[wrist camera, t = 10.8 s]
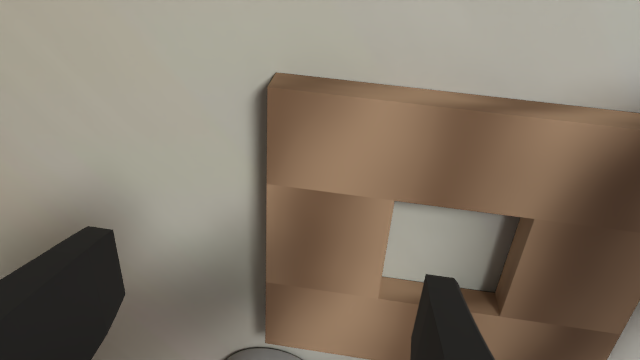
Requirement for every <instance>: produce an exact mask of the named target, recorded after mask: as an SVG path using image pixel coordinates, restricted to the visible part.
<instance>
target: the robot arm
mask: <svg viewBox="0 0 640 360" xmlns="http://www.w3.org/2000/svg"><path fill="white" fill-rule="evenodd" d="M124 296H125V289H124V284H123V279H122V274H121V269H120V264H119V259H118V254H117V248H116V243H115V238H114V233H113V230H111V229H103V228H96V227H89V226H88V227H86V228H84V229H82V230H81V231H79V232H77V233H75V234H74V235H72V236H70V237H69V238H67V239H66V240H64V241H62V242H61V243H59V244H57V245H56V246H54V247H53V248H51V249H50V250H48V251H46V252H45V253H43V254H42V255H40V256H38V257H37V258H35V259H34V260H32V261H30V262H29V263H27V264H25V265H24V266H22V267H20V268H19V269H17V270H16V271H14V272H12V273H11V274H9V275H7V276H6V277H4V278H3V279H1V280H0V360H91V359H92V357H93V356H94V354H95V353H96V351H97V349H98V348H99V346H100V345H101V343H102V341H103V340H104V338H105V336H106V335H107V333H108V331H109V329H110V327H111V325H112V323H113V320H114V318H115V316H116V314H117V312H118V310H119V307H120V305H121V303H122V301H123V298H124ZM410 360H495V359H494V357H493V355H492V353H491V351H490V350H489V348H488V346H487V344H486V342H485V340H484V338H483V337H482V335H481V333H480V331H479V329H478V327H477V325H476V323H475V321H474V318H473V316H472V314H471V312H470V310H469V308H468V306H467V303H466V301H465V299H464V297H463V294H462V292H461V290H460V287H459V285H458V283H457V281H456V280H455V279H454V278H449V277H442V276H435V275H428V274H426V276H425V280H424V285H423V289H422V293H421V298H420V302H419V306H418V310H417V315H416V319H415V323H414V328H413V332H412V336H411V355H410Z"/></svg>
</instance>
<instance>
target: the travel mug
mask: <svg viewBox="0 0 640 360" xmlns="http://www.w3.org/2000/svg"><path fill="white" fill-rule="evenodd" d="M227 360H302V359H300V358H298V357H296V356H294V355H292V354H290V353H286V352H283V351H280V350H275V349H269V348H253V349H246V350H243V351H239V352H237V353H235V354H233V355H232V356H230V357H229V358H228V359H227Z"/></svg>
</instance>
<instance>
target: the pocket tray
mask: <svg viewBox="0 0 640 360" xmlns="http://www.w3.org/2000/svg"><path fill="white" fill-rule="evenodd" d="M394 201H401V202H408V203H416V204H424V205H431V206H439V207H447V208H454V209H462V210H470V211H477V212H485V213H493V214H500V215H508V216H516V217H521V218H520V220H519V223H518V226H517V229H516V232H515V235H514V238H513V241H512V244H511V247H510V250H509V253H508V256H507V259H506V262H505V265H504V268H503V271H502V274H501V277H500V280H499V283H498V286H497V289H496V292H495V293H492V292H485V291H478V290H471V289H464V288H460V290H461V292H462V294H463V297H464V299H465V301H466V303H467V306H468V308H469V310H470V312H471V314H472V316H473V318H474V321H475V323H476V325H477V327H478V329H479V331H480V333H481V335H482V337H483V338H484V340H485V342H486V344H487V346H488V348H489V350H490V351H491V353H492V355H493V357H494V359H495V360H607V358H608V357H609V355H610V353H611V351H612V349H613V348H614V346H615V344H616V342H617V340H618V339H619V337H620V335H621V333H622V331H623V329H624V328H625V326H626V324H627V322H628V320H629V319H630V317H631V315H632V313H633V311H634V310H635V308H636V306H637V304H638V302H639V300H640V113H633V112H624V111H615V110H607V109H598V108H589V107H580V106H571V105H562V104H553V103H544V102H535V101H526V100H517V99H508V98H499V97H490V96H481V95H472V94H463V93H455V92H446V91H437V90H428V89H419V88H410V87H401V86H392V85H383V84H374V83H365V82H356V81H347V80H338V79H329V78H320V77H311V76H303V75H294V74H285V73H275V75H274V77H273V78H272V80H271V82H270V83H269V85H268V87H267V201H266V335H265V343H268V344H275V345H281V346H287V347H294V348H300V349H306V350H313V351H319V352H325V353H332V354H338V355H344V356H351V357H357V358H364V359H370V360H410V355H411V336H412V332H413V328H414V323H415V319H416V315H417V310H418V306H419V302H420V298H421V293H422V289H423V285H424V283H422V282H415V281H408V280H401V279H394V278H387V277H382V272H383V266H384V260H385V254H386V248H387V242H388V236H389V230H390V225H391V219H392V213H393V207H394Z"/></svg>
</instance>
